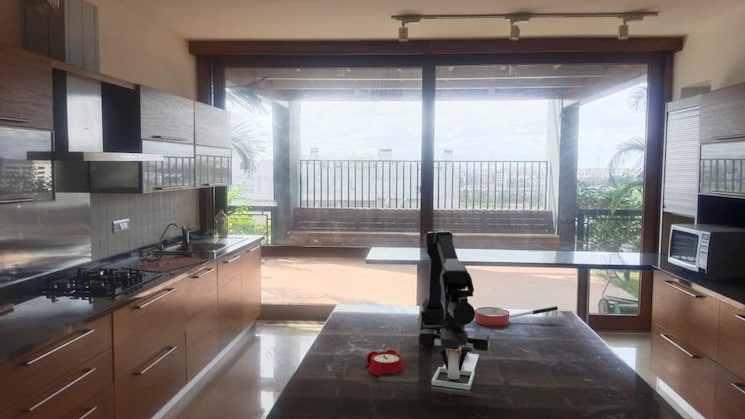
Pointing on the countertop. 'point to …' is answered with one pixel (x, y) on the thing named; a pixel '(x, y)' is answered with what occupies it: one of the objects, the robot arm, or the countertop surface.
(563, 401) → the countertop surface
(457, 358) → the cylinder
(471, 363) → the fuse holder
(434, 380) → the tray
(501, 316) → the frying pan
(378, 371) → the alarm clock
